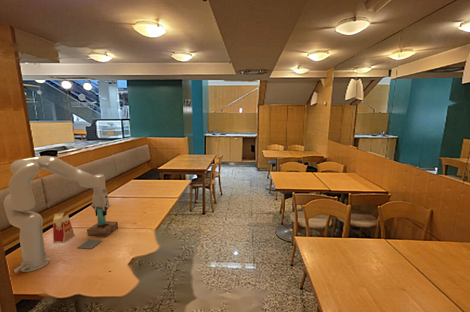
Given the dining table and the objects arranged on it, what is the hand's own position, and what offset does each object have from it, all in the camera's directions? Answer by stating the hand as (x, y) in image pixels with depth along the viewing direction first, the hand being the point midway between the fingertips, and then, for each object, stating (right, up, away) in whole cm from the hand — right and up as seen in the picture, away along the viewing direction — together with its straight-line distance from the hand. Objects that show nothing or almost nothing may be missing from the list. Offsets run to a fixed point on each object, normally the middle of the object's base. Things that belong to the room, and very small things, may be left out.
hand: (101, 215), depth 161 cm
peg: (0, -6, +1) cm, 7 cm away
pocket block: (0, -13, +3) cm, 13 cm away
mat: (+1, -16, -14) cm, 21 cm away
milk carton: (-21, -15, -8) cm, 27 cm away
